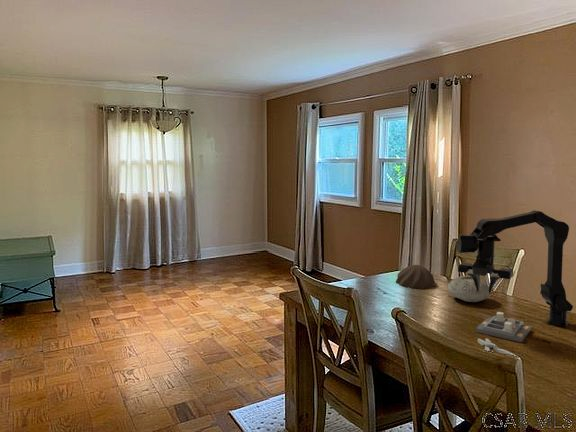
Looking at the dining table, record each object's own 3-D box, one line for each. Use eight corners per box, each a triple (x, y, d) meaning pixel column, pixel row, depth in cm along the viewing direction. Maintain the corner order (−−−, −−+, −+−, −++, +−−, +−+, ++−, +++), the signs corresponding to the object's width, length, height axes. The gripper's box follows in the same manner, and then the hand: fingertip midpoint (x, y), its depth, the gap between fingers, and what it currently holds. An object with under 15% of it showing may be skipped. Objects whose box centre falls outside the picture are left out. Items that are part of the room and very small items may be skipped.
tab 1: (496, 320, 167) (496, 311, 166) (504, 321, 165) (505, 312, 164) (494, 322, 164) (494, 313, 164) (502, 324, 162) (503, 315, 162)
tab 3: (507, 326, 160) (508, 317, 160) (516, 328, 158) (517, 319, 158) (505, 328, 158) (505, 319, 157) (514, 330, 156) (515, 321, 155)
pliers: (491, 358, 135) (468, 338, 150) (491, 362, 136) (468, 343, 150) (521, 356, 136) (496, 337, 151) (521, 361, 136) (495, 342, 151)
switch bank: (487, 321, 170) (487, 314, 170) (530, 330, 160) (530, 323, 160) (475, 332, 159) (476, 325, 159) (521, 342, 149) (521, 335, 149)
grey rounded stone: (499, 302, 192) (500, 280, 191) (470, 308, 185) (471, 285, 183) (466, 291, 208) (467, 271, 207) (438, 297, 201) (439, 276, 199)
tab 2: (504, 330, 157) (504, 320, 156) (513, 332, 155) (514, 322, 154) (502, 332, 154) (502, 323, 154) (511, 334, 152) (511, 325, 152)
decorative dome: (438, 281, 228) (439, 262, 227) (430, 291, 211) (430, 271, 210) (402, 277, 238) (402, 259, 236) (391, 286, 221) (391, 266, 219)
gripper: (453, 252, 165) (452, 292, 167) (506, 259, 153) (504, 302, 155) (463, 248, 173) (461, 286, 175) (514, 254, 162) (512, 295, 163)
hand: (484, 292), depth 167 cm, fingers open, 4 cm apart
